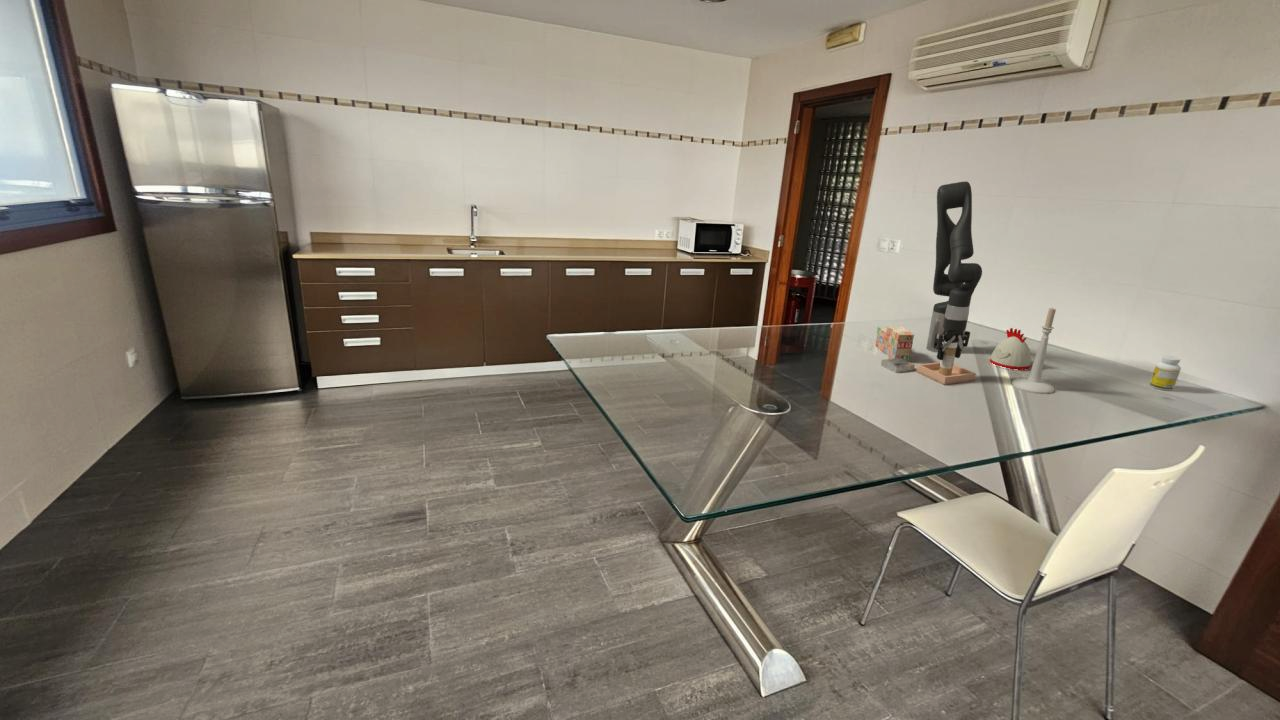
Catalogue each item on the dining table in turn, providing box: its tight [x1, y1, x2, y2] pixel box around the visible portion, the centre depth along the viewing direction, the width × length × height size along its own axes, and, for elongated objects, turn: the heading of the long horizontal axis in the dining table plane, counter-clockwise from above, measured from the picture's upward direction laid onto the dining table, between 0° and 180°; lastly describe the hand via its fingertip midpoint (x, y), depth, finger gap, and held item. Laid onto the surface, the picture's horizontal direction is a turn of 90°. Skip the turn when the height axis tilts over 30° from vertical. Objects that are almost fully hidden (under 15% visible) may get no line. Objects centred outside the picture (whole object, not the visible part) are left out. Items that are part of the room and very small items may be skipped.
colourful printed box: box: [875, 325, 915, 362], centre depth 231 cm, size 21×6×12 cm, turn 178°
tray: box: [916, 361, 977, 386], centre depth 207 cm, size 14×14×3 cm
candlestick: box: [1011, 307, 1057, 395], centre depth 191 cm, size 13×13×30 cm
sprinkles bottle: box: [938, 341, 958, 376], centre depth 205 cm, size 5×5×13 cm
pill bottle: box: [1149, 355, 1182, 391], centre depth 192 cm, size 6×6×12 cm
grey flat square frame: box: [880, 358, 916, 374], centre depth 216 cm, size 9×9×2 cm
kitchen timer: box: [989, 327, 1032, 371], centre depth 216 cm, size 14×14×15 cm
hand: (948, 358), depth 205 cm, fingers open, 7 cm apart
